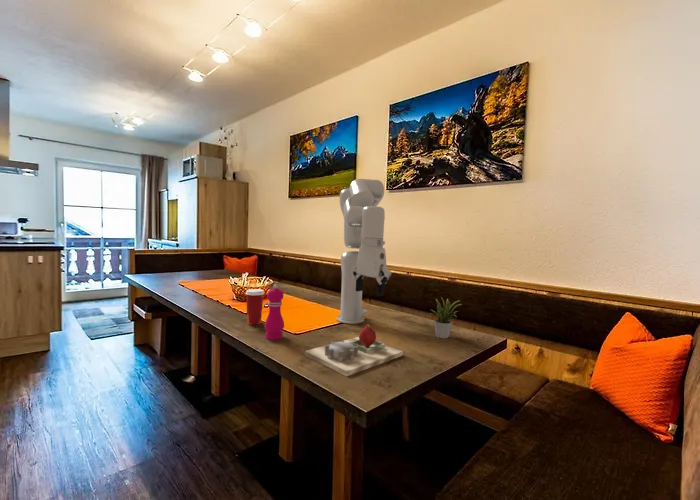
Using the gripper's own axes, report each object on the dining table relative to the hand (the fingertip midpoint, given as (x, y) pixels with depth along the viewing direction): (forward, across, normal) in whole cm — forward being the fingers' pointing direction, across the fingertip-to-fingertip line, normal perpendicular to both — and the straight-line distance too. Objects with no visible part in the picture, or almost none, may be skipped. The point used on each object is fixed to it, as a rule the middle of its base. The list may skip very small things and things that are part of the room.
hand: (369, 293), depth 117 cm
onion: (+19, 0, 0) cm, 19 cm away
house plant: (+20, -8, -38) cm, 44 cm away
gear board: (+20, 0, +6) cm, 21 cm away
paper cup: (+21, +53, +14) cm, 58 cm away
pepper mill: (+20, +32, +17) cm, 42 cm away
